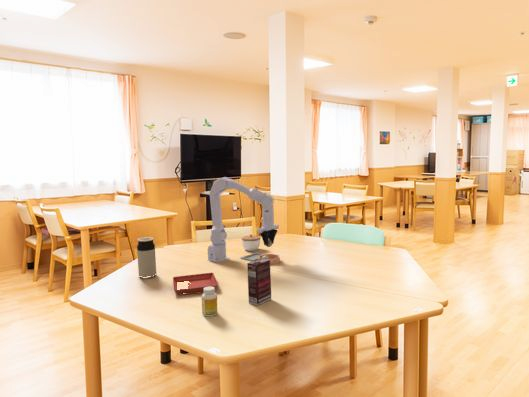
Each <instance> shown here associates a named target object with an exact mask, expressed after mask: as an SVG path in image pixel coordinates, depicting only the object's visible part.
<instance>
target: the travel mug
mask: <svg viewBox="0 0 529 397" xmlns="http://www.w3.org/2000/svg"><path fill="white" fill-rule="evenodd" d="M136 240H137V245H136V254H137V266H138V267H137V270H138V277H139V276H142V277H147V276H153V275H155V274H156V275H157V262H156V259H157V258H156V245H155V243H154V240H155V238H154V237H151V236H146V237H145V236H144V237H139V238H137V239H136Z"/></svg>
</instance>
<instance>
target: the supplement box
mask: <svg viewBox="0 0 529 397" xmlns="http://www.w3.org/2000/svg"><path fill="white" fill-rule="evenodd" d="M246 264H247V266H246V267H247V286H248V287H247V289H248V291H247V294H248V304H250V305H253V304H254V306H256V305H257V307H258V306H261V305H262V304H264V303H266V302H268V301H270V300H272V281H271V280H272V279H271V265H270V260H268V259H262V258H261V259H258V260H255V261H249V262H246Z"/></svg>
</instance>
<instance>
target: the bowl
mask: <svg viewBox="0 0 529 397" xmlns="http://www.w3.org/2000/svg"><path fill="white" fill-rule="evenodd" d="M261 254H262V255H259V256H258V259H261V258H262V257H263V256H265V255H266V256H268V257H269V259H268V260H270V266H271V265H276V264H278V263H279V264H280V262H281V259H280V258H281V257H280V254H275V253H261Z"/></svg>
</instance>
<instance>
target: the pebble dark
mask: <svg viewBox="0 0 529 397" xmlns="http://www.w3.org/2000/svg"><path fill="white" fill-rule="evenodd" d="M272 246H273V244H272V241H270V240H269V241H268V246H266V247H267V248H270V247H272Z"/></svg>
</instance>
